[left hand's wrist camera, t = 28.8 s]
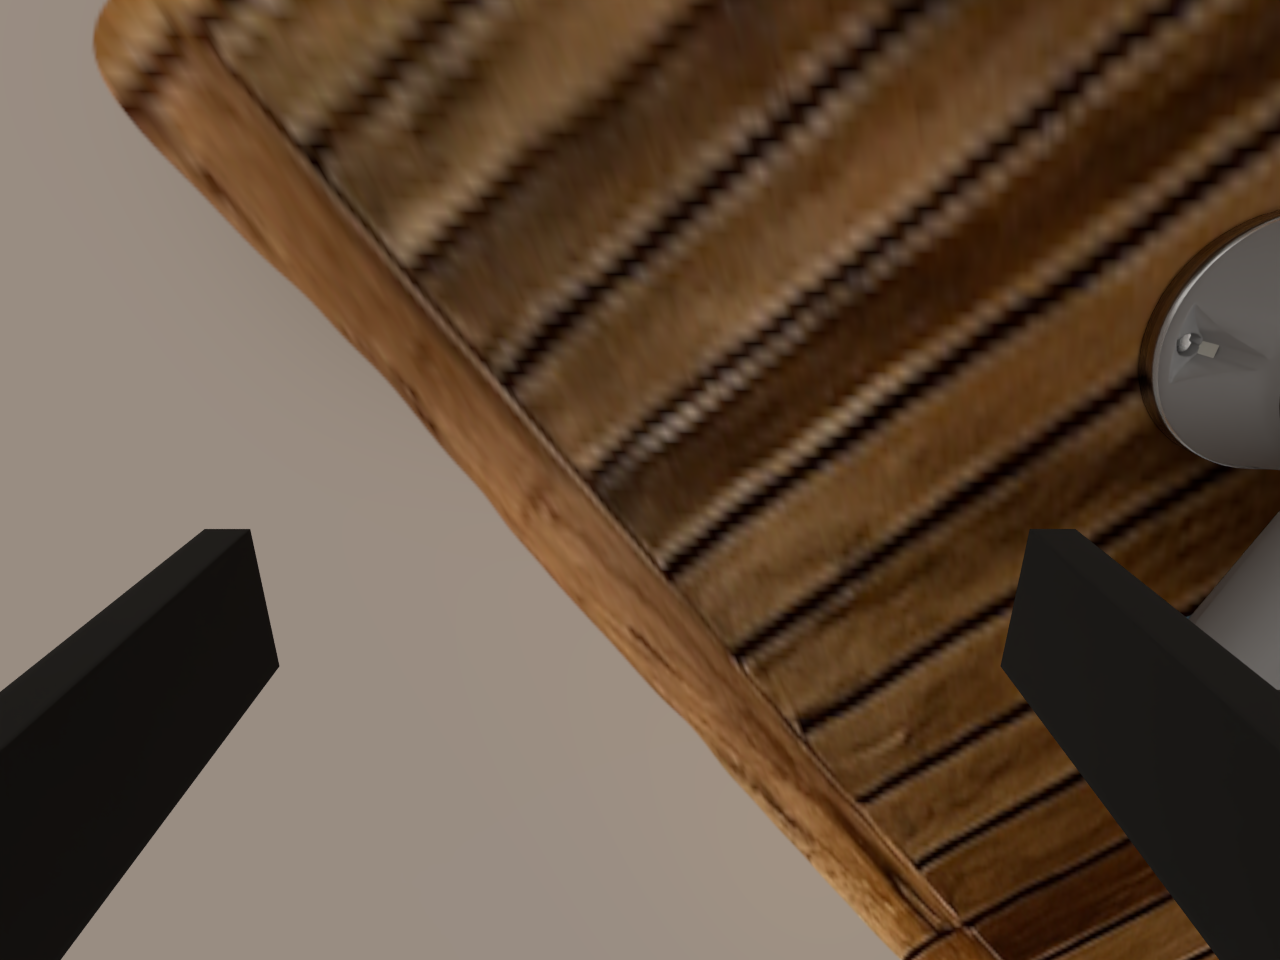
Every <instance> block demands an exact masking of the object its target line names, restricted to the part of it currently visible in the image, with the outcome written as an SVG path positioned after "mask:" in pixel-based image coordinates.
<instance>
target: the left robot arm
mask: <svg viewBox="0 0 1280 960" xmlns="http://www.w3.org/2000/svg"><path fill="white" fill-rule="evenodd" d="M1139 382H1140V388H1141V394H1142V397H1143V401H1144V404H1145V406H1146V409H1147V411H1148V413H1149V415H1150V417H1151V418H1152V420H1153V421H1154V423H1155V424H1156V426H1157V427H1158V428H1159V429H1160V431H1161V432H1162V433H1163V434H1165V435H1166V436H1167V437H1168V438H1169V439H1170V440H1172V441H1173V442H1174V443H1175V444H1177V445H1179V446H1181V447H1182V448H1184V449H1186V450H1188V451H1190V452H1192V453H1194V454H1196V455H1198V456H1200V457H1202V458H1204V459H1207V460H1209V461H1211V462H1214V463H1217V464H1221V465H1224V466H1229V467H1234V468H1245V469H1274V470H1280V210H1279V211H1274V212H1271V213H1268V214H1264V215H1261V216H1259V217H1256V218H1254V219H1251V220H1249V221H1247V222H1245V223H1243V224H1240V225H1238V226H1236V227H1234V228H1233V229H1231V230H1229V231H1228V232H1226V233H1224V234H1223V235H1221V236H1220V237H1218V238H1217V239H1216V240H1214V241H1213V242H1211V243H1210V244H1209V245H1207V246H1206V247H1205V248H1204V249H1203V250H1201V251H1200V252H1199V253H1198V254H1197V255H1196V256H1195V257H1194V258H1193V259H1191V260H1190V261H1189V262H1188V263H1187V264H1186V265H1185V267H1184V268H1183V269H1182V270H1181V271H1180V272H1179V273H1178V274H1177V276H1176V277H1175V278H1174V280H1173V281H1172V282H1171V283H1170V285H1169V286H1168V288H1167V289H1166V291H1165V292H1164V294H1163V295H1162V297H1161V298H1160V300H1159V302H1158V304H1157V306H1156V308H1155V309H1154V311H1153V314H1152V316H1151V318H1150V320H1149V323H1148V325H1147V328H1146V331H1145V334H1144V338H1143V342H1142V346H1141V352H1140V359H1139ZM278 667H279V662H278V658H277V653H276V648H275V644H274V639H273V634H272V629H271V625H270V620H269V615H268V611H267V606H266V601H265V597H264V592H263V587H262V582H261V578H260V573H259V569H258V564H257V559H256V554H255V550H254V545H253V540H252V536H251V531H250V529H204V530H203V531H202V532H201V533H199V534H198V535H197V536H196V537H194V538H193V539H192V540H190V541H189V542H188V543H187V544H185V545H184V546H183V547H182V548H180V549H179V550H178V551H177V552H175V553H174V554H173V555H172V556H170V557H169V558H168V559H167V560H165V561H164V562H163V563H162V564H160V565H159V566H158V567H157V568H155V569H154V570H153V571H152V572H150V573H149V574H148V575H147V576H145V577H144V578H143V579H142V580H140V581H139V582H138V583H137V584H135V585H134V586H133V587H131V588H130V589H129V590H128V591H126V592H125V593H124V594H123V595H121V596H120V597H119V598H118V599H116V600H115V601H114V602H113V603H111V604H110V605H109V606H108V607H106V608H105V609H104V610H103V611H101V612H100V613H99V614H98V615H96V616H95V617H94V618H92V619H91V620H90V621H89V622H87V623H86V624H85V625H84V626H82V627H81V628H80V629H79V630H78V631H76V632H75V633H74V634H72V635H71V636H70V637H69V638H67V639H66V640H65V641H64V642H62V643H61V644H60V645H59V646H57V647H56V648H55V649H54V650H52V651H51V652H50V653H49V654H47V655H46V656H45V657H44V658H42V659H41V660H40V661H38V662H37V663H36V664H35V665H34V666H32V667H31V668H30V669H28V670H27V671H26V672H25V673H23V674H22V675H21V676H20V677H18V678H17V679H16V680H15V681H13V682H12V683H11V684H10V685H8V686H7V687H6V688H5V689H3V690H2V691H1V692H0V960H61V959H62V957H63V956H64V955H65V953H66V952H67V950H68V949H69V948H70V946H71V945H72V944H73V942H74V941H75V940H76V938H77V937H78V936H79V934H80V933H81V932H82V930H83V929H84V928H85V926H86V925H87V924H88V922H89V921H90V920H91V918H92V917H93V916H94V914H95V913H96V912H97V910H98V909H99V908H100V906H101V905H102V904H103V902H104V901H105V899H106V898H107V897H108V895H109V894H110V893H111V891H112V890H113V889H114V887H115V886H116V885H117V883H118V882H119V881H120V879H121V878H122V877H123V875H124V874H125V873H126V871H127V870H128V869H129V867H130V866H131V865H132V863H133V862H134V861H135V859H136V858H137V856H138V855H139V854H140V853H141V851H142V850H143V849H144V847H145V846H146V845H147V843H148V842H149V840H150V839H151V838H152V836H153V835H154V834H155V832H156V831H157V830H158V828H159V827H160V826H161V824H162V823H163V822H164V820H165V819H166V818H167V816H168V815H169V814H170V812H171V811H172V810H173V808H174V807H175V805H176V804H177V803H178V802H179V800H180V799H181V798H182V796H183V795H184V794H185V792H186V791H187V790H188V788H189V787H190V785H191V784H192V783H193V781H194V780H195V779H196V777H197V776H198V775H199V773H200V772H201V771H202V769H203V768H204V767H205V765H206V764H207V763H208V761H209V760H210V759H211V757H212V756H213V755H214V753H215V752H216V751H217V749H218V748H219V747H220V745H221V744H222V742H223V741H224V740H225V739H226V737H227V736H228V735H229V733H230V732H231V730H232V729H233V728H234V726H235V725H236V724H237V722H238V721H239V720H240V718H241V717H242V716H243V714H244V713H245V712H246V710H247V709H248V708H249V706H250V705H251V704H252V702H253V701H254V700H255V698H256V697H257V696H258V694H259V693H260V692H261V690H262V689H263V687H264V686H265V685H266V683H267V682H268V681H269V679H270V678H271V677H272V675H273V674H274V673H275V671H276V670H277V669H278ZM1001 667H1002V669H1003V670H1004V671H1005V673H1006V674H1007V675H1008V677H1009V678H1010V680H1011V681H1012V682H1013V684H1014V685H1015V686H1016V688H1017V689H1018V690H1019V692H1020V693H1021V694H1022V696H1023V697H1024V698H1025V700H1026V701H1027V702H1028V704H1029V705H1030V706H1031V708H1032V709H1033V710H1034V712H1035V713H1036V714H1037V716H1038V717H1039V718H1040V720H1041V721H1042V722H1043V724H1044V725H1045V726H1046V728H1047V729H1048V730H1049V732H1050V733H1051V735H1052V736H1053V737H1054V739H1055V740H1056V741H1057V743H1058V744H1059V745H1060V747H1061V748H1062V749H1063V751H1064V752H1065V753H1066V755H1067V756H1068V757H1069V759H1070V760H1071V761H1072V763H1073V764H1074V765H1075V767H1076V768H1077V769H1078V771H1079V772H1080V773H1081V775H1082V776H1083V777H1084V779H1085V780H1086V781H1087V783H1088V784H1089V785H1090V787H1091V788H1092V790H1093V791H1094V792H1095V794H1096V795H1097V796H1098V798H1099V799H1100V800H1101V802H1102V803H1103V804H1104V806H1105V807H1106V808H1107V810H1108V811H1109V812H1110V814H1111V815H1112V816H1113V818H1114V819H1115V820H1116V822H1117V823H1118V824H1119V826H1120V827H1121V828H1122V830H1123V831H1124V832H1125V834H1126V835H1127V836H1128V838H1129V839H1130V840H1131V842H1132V843H1133V845H1134V846H1135V847H1136V849H1137V850H1138V851H1139V853H1140V854H1141V855H1142V857H1143V858H1144V859H1145V861H1146V862H1147V863H1148V865H1149V866H1150V867H1151V869H1152V870H1153V871H1154V873H1155V874H1156V875H1157V877H1158V878H1159V879H1160V881H1161V882H1162V883H1163V885H1164V886H1165V887H1166V889H1167V890H1168V891H1169V893H1170V894H1171V895H1172V897H1173V898H1174V900H1175V901H1176V902H1177V904H1178V905H1179V906H1180V908H1181V909H1182V910H1183V912H1184V913H1185V914H1186V916H1187V917H1188V918H1189V920H1190V921H1191V922H1192V924H1193V925H1194V926H1195V928H1196V929H1197V930H1198V932H1199V933H1200V934H1201V936H1202V937H1203V938H1204V940H1205V941H1206V942H1207V944H1208V945H1209V946H1210V948H1211V949H1212V950H1213V952H1214V953H1215V955H1216V956H1217V957H1218V959H1219V960H1280V511H1279V512H1278V513H1277V514H1276V516H1275V517H1274V518H1273V519H1272V520H1271V521H1270V523H1269V524H1268V525H1267V526H1266V527H1265V529H1264V530H1263V531H1262V532H1261V533H1260V535H1259V536H1258V537H1257V538H1256V539H1255V540H1254V542H1253V543H1252V544H1251V545H1250V546H1249V548H1248V549H1247V550H1246V551H1245V552H1244V553H1243V555H1242V556H1241V557H1240V558H1239V559H1238V561H1237V562H1236V563H1235V564H1234V565H1233V567H1232V568H1231V569H1230V570H1229V571H1228V572H1227V574H1226V575H1225V576H1224V577H1223V578H1222V580H1221V581H1220V582H1219V583H1218V584H1217V585H1216V587H1215V588H1214V589H1213V590H1212V591H1211V593H1210V594H1209V595H1208V596H1207V597H1206V599H1205V600H1204V601H1203V602H1202V603H1201V604H1200V606H1199V607H1198V608H1197V609H1196V610H1195V612H1194V613H1193V614H1192V615H1189V616H1186V617H1185V616H1184V615H1182V614H1181V613H1180V612H1179V611H1177V610H1176V609H1175V608H1174V607H1172V606H1171V605H1170V604H1169V603H1167V602H1166V601H1165V600H1164V599H1162V598H1161V597H1160V596H1159V595H1157V594H1156V593H1155V592H1154V591H1152V590H1151V589H1150V588H1149V587H1147V586H1146V585H1145V584H1144V583H1142V582H1141V581H1140V580H1139V579H1137V578H1136V577H1135V576H1134V575H1132V574H1131V573H1130V572H1128V571H1127V570H1126V569H1125V568H1123V567H1122V566H1121V565H1120V564H1118V563H1117V562H1116V561H1115V560H1113V559H1112V558H1111V557H1110V556H1108V555H1107V554H1106V553H1105V552H1103V551H1102V550H1101V549H1100V548H1098V547H1097V546H1096V545H1095V544H1093V543H1092V542H1091V541H1090V540H1088V539H1087V538H1086V537H1085V536H1083V535H1082V534H1081V533H1080V532H1078V531H1077V530H1076V529H1030V531H1029V536H1028V540H1027V545H1026V550H1025V554H1024V559H1023V564H1022V568H1021V573H1020V578H1019V582H1018V587H1017V592H1016V597H1015V601H1014V606H1013V611H1012V615H1011V620H1010V625H1009V629H1008V634H1007V639H1006V643H1005V648H1004V653H1003V658H1002V662H1001Z"/></svg>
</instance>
